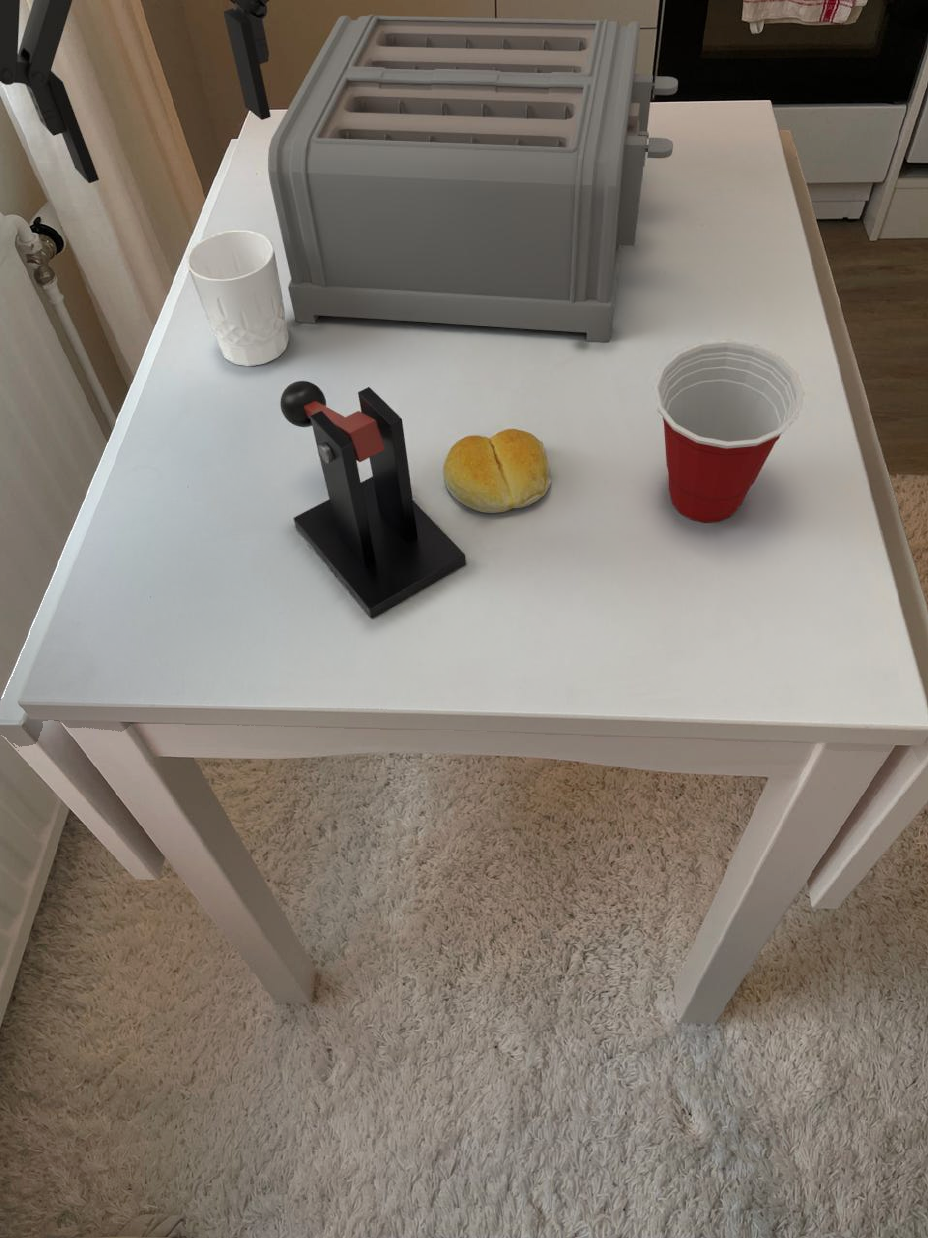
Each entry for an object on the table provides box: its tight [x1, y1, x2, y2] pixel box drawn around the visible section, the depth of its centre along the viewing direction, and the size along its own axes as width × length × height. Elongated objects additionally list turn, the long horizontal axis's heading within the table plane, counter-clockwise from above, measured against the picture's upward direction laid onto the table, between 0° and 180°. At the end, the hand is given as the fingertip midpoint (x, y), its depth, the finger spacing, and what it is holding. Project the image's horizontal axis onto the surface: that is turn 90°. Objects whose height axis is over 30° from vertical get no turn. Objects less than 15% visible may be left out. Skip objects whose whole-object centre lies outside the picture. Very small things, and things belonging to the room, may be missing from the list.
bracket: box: [293, 386, 467, 620], centre depth 72 cm, size 12×9×14 cm
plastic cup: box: [652, 339, 806, 523], centre depth 74 cm, size 11×11×12 cm
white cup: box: [186, 229, 290, 367], centre depth 90 cm, size 8×8×10 cm
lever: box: [279, 380, 385, 463], centre depth 72 cm, size 13×4×4 cm, turn 35°
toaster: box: [267, 13, 679, 343], centre depth 96 cm, size 31×36×17 cm
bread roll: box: [442, 428, 552, 514], centre depth 80 cm, size 8×9×4 cm
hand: (175, 142), depth 69 cm, fingers open, 13 cm apart
